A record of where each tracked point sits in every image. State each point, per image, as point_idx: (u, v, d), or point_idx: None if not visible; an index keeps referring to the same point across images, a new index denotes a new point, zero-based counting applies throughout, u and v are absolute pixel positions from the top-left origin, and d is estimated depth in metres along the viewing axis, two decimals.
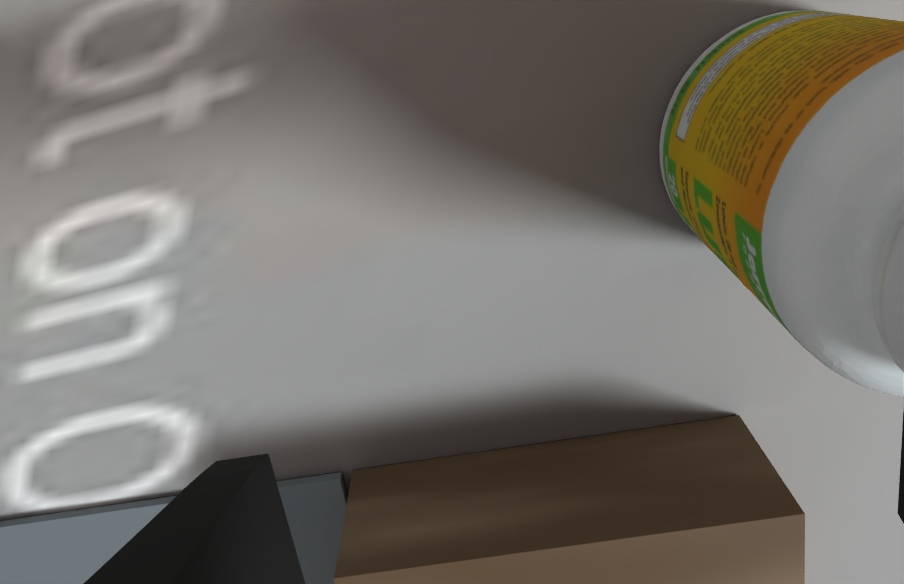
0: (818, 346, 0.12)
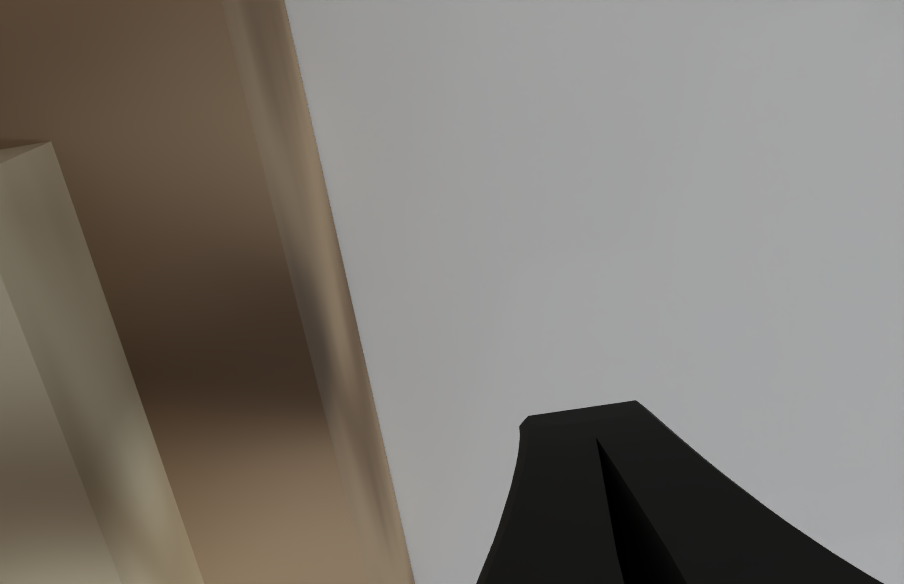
0: None
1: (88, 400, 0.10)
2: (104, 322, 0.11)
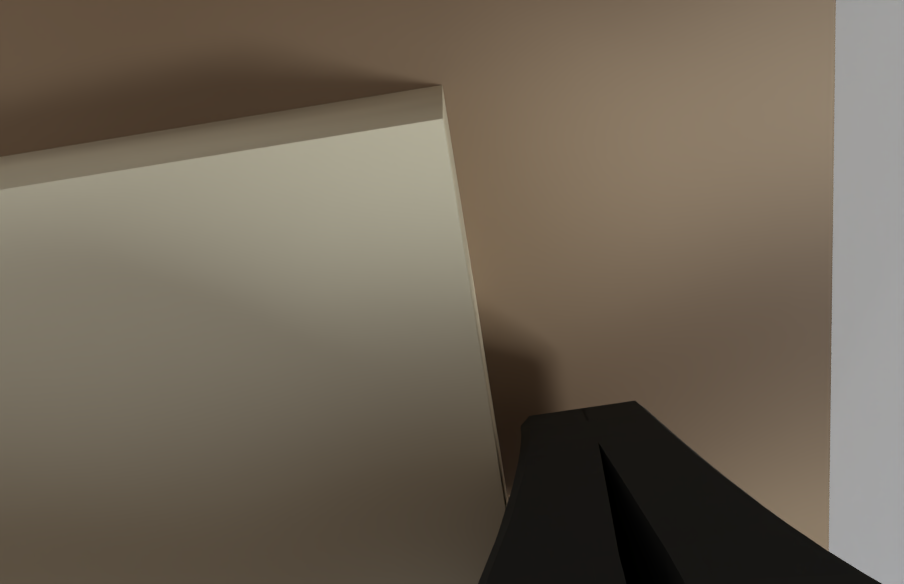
0: None
1: (489, 394, 0.08)
2: (476, 302, 0.09)
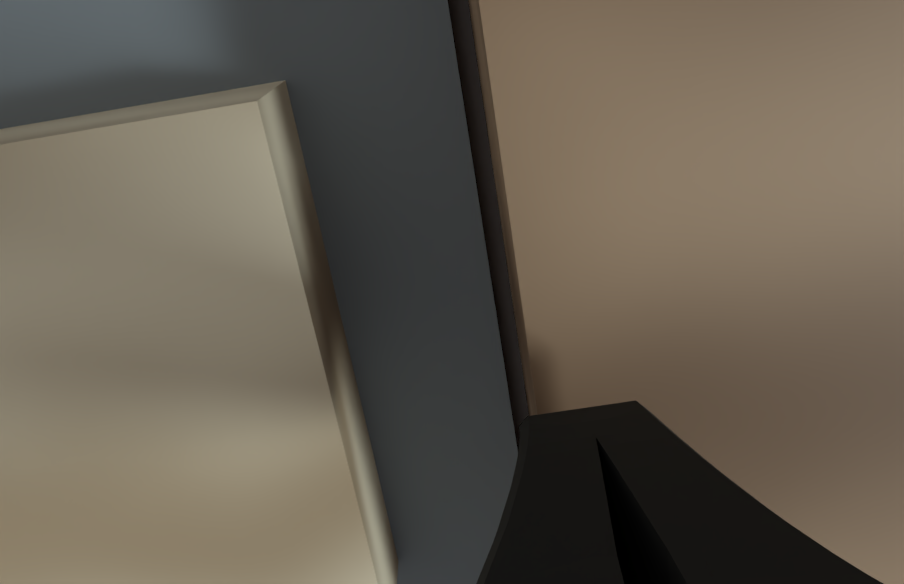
0: None
1: None
2: None
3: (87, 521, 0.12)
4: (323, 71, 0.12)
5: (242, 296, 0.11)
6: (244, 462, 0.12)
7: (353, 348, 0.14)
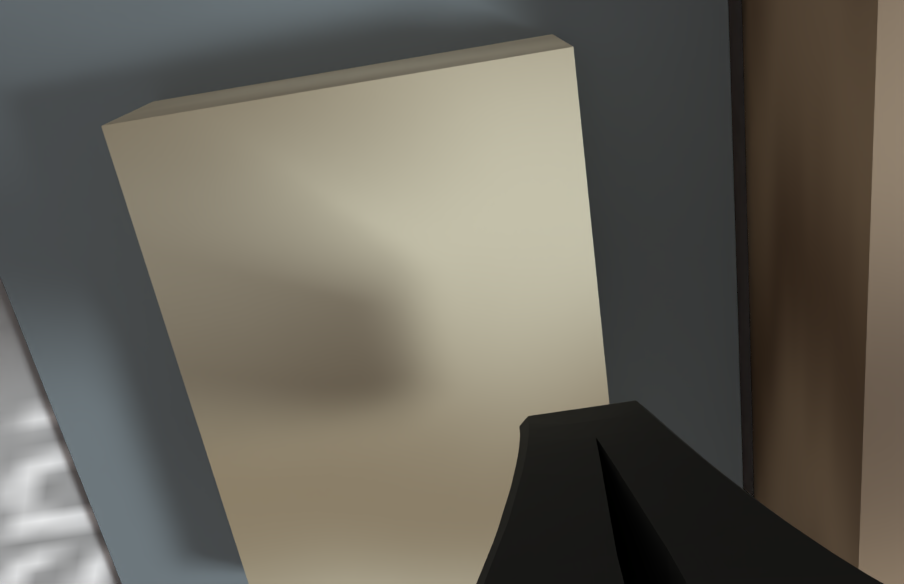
0: None
1: None
2: None
3: (339, 483, 0.12)
4: (593, 25, 0.12)
5: (529, 250, 0.11)
6: (507, 423, 0.12)
7: None
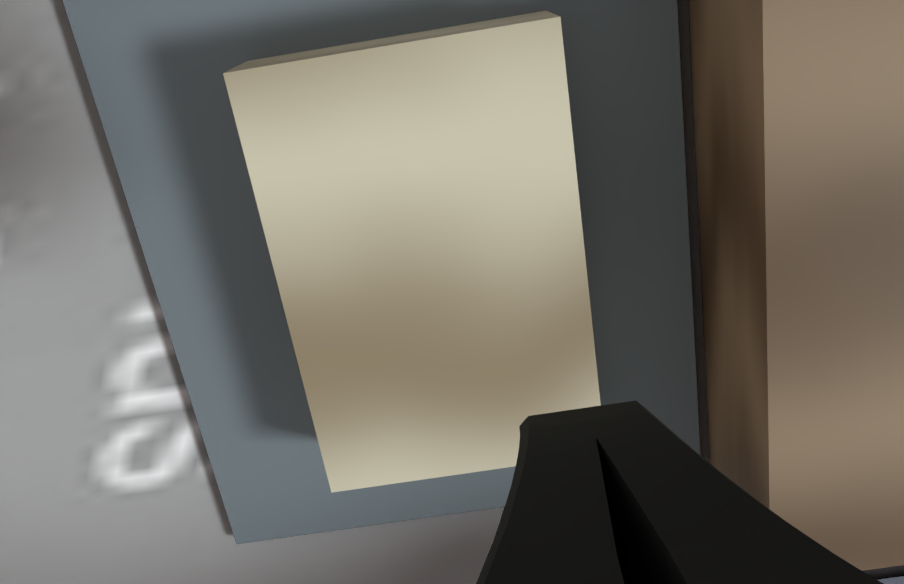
0: None
1: None
2: None
3: (386, 348, 0.16)
4: (576, 4, 0.16)
5: (529, 166, 0.15)
6: (512, 300, 0.16)
7: None
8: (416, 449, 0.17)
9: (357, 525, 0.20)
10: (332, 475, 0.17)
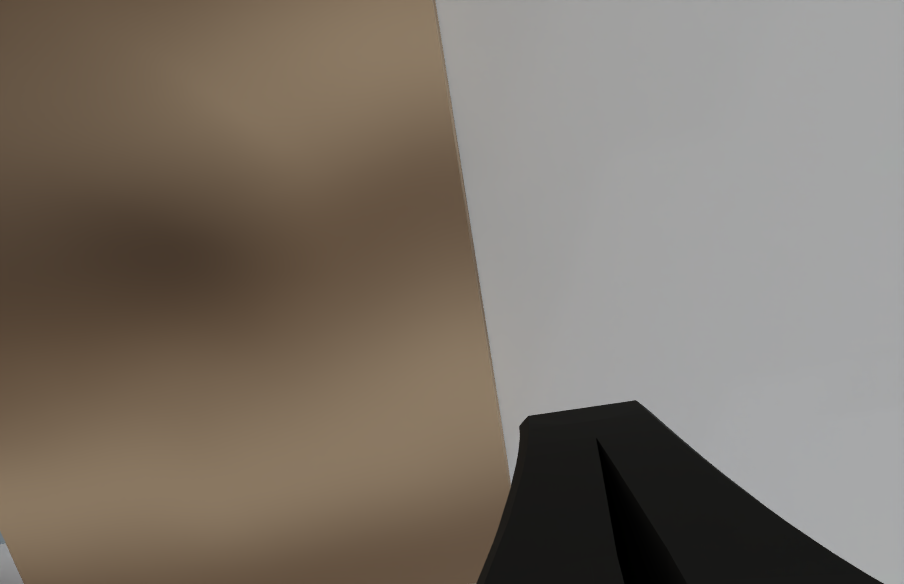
0: None
1: None
2: None
3: None
4: None
5: None
6: None
7: None
8: None
9: None
10: None
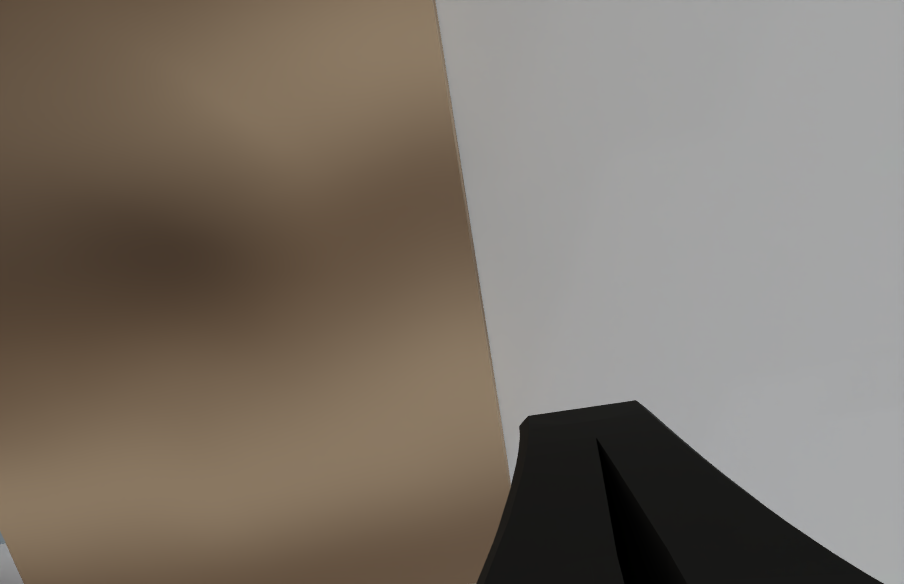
0: None
1: None
2: None
3: None
4: None
5: None
6: None
7: None
8: None
9: None
10: None
